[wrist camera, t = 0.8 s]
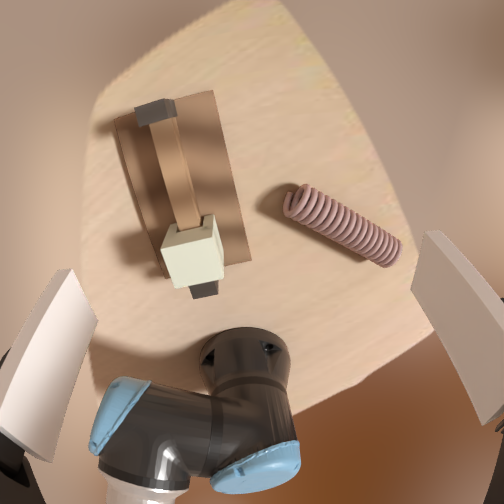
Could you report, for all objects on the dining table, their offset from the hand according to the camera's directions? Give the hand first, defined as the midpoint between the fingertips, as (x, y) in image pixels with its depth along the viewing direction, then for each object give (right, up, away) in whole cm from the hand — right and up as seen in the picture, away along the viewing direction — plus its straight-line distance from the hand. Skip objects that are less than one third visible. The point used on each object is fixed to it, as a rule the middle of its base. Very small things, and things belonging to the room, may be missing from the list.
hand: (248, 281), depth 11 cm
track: (-8, +9, +26) cm, 28 cm away
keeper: (-7, +3, +28) cm, 29 cm away
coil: (+12, +5, +30) cm, 33 cm away
